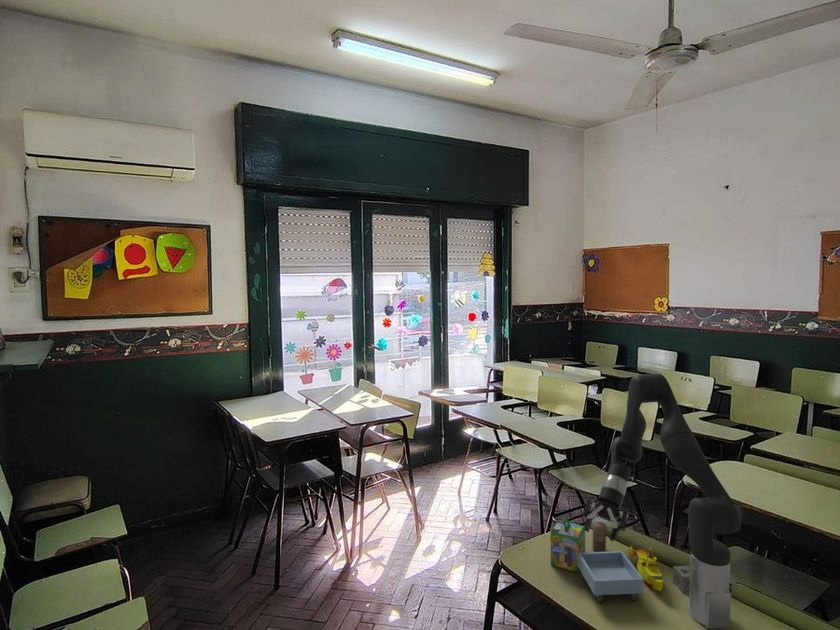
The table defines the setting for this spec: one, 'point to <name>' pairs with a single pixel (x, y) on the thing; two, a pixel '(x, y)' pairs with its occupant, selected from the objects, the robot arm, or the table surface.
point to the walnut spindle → (599, 537)
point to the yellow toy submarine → (648, 567)
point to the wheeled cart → (610, 574)
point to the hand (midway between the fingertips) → (598, 535)
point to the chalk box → (567, 544)
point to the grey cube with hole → (682, 578)
